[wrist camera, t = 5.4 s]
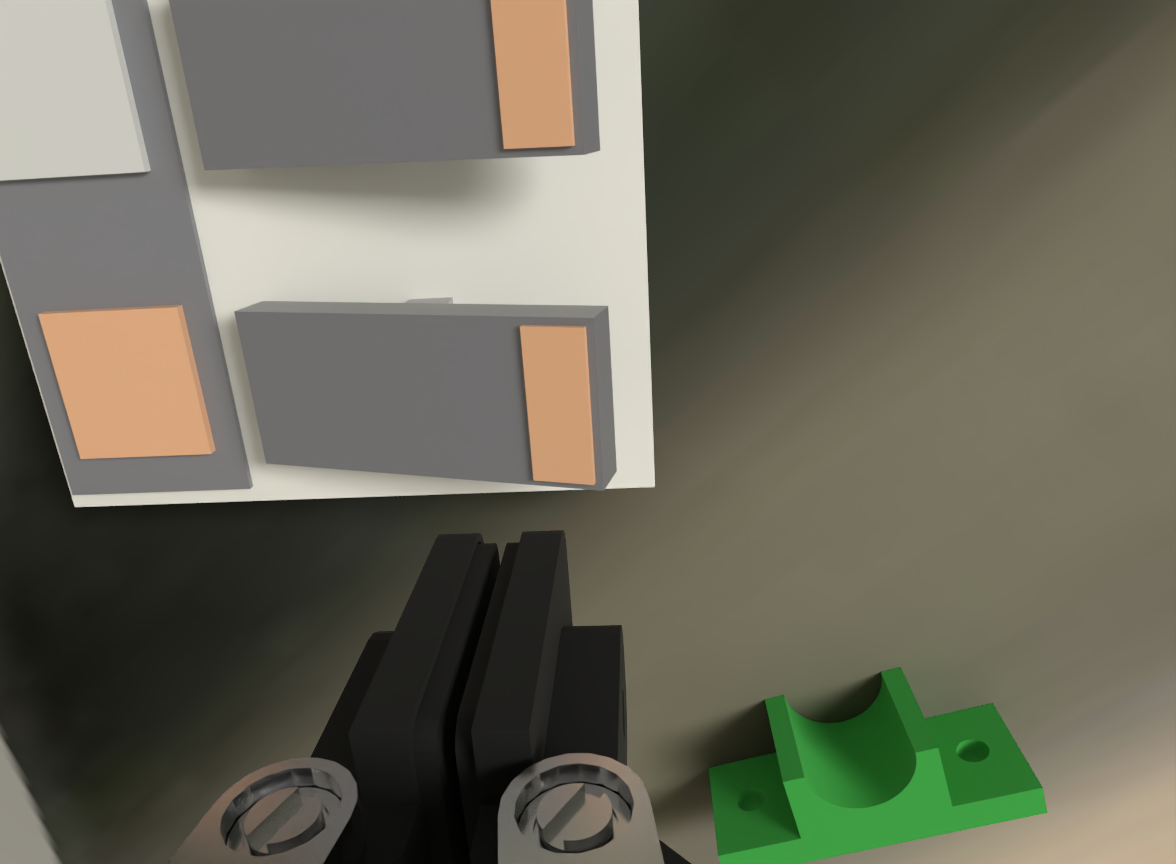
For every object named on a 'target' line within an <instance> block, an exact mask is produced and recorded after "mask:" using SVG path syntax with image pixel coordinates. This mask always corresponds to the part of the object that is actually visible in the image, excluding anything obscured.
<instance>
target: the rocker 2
mask: <svg viewBox="0 0 1176 864" xmlns="http://www.w3.org/2000/svg"><path fill="white" fill-rule="evenodd" d="M234 313H235V318H236V323H237V327H238V332H239V337H240V342H241V346H242V351H243V356H244V361H245V365H246V370H247V375H248V380H249V384H250V389H251V394H252V399H253V404H254V408H255V413H256V418H257V423H258V427H259V432H260V437H261V442H262V446H263V451H264V456H265V461H266V464H278V465H290V466H303V467H315V468H328V469H340V470H352V471H365V472H377V473H390V474H402V475H415V476H427V477H439V478H452V479H464V480H477V481H489V482H501V483H514V484H526V485H539V486H551V487H563V488H576V489H588V490H601V491H604V490H605V488H606V487H607V485H608V484H609V482H610V481H611V479H612V478H613V476H614V475H615V473H616V472H617V466H616V446H615V427H614V408H613V388H612V369H611V349H610V330H609V310H608V306H587V305H514V304H441V303H369V302H296V301H261V302H259V303H256V304H253V305H250V306H248V307H245V308H242V309H239V310H237V311H234Z"/></svg>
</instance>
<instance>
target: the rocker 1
mask: <svg viewBox="0 0 1176 864" xmlns="http://www.w3.org/2000/svg"><path fill="white" fill-rule="evenodd" d="M169 4H170V9H171V13H172V18H173V23H174V28H175V32H176V37H177V42H178V47H179V51H180V56H181V61H182V66H183V71H184V75H185V80H186V85H187V90H188V94H189V99H190V104H191V109H192V113H193V118H194V123H195V128H196V132H197V137H198V142H199V147H200V151H201V156H202V161H203V166H204V170H228V169H252V168H276V167H301V166H325V165H349V164H374V163H398V162H423V161H447V160H471V159H496V158H520V157H544V156H569V155H586V154H589V153H593V152H597V151H600V136H599V116H598V97H597V77H596V58H595V38H594V19H593V0H169Z"/></svg>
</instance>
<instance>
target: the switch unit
mask: <svg viewBox="0 0 1176 864" xmlns="http://www.w3.org/2000/svg"><path fill="white" fill-rule="evenodd" d="M593 19H594V38H595V58H596V77H597V97H598V116H599V136H600V151H597V152H593V153H589V154H586V155H569V156H544V157H520V158H496V159H471V160H447V161H423V162H398V163H374V164H349V165H325V166H301V167H276V168H252V169H228V170H204V166H203V161H202V156H201V151H200V147H199V142H198V137H197V132H196V128H195V123H194V118H193V113H192V109H191V104H190V99H189V94H188V90H187V85H186V80H185V75H184V71H183V66H182V61H181V56H180V51H179V47H178V42H177V37H176V32H175V28H174V23H173V18H172V13H171V9H170V4H169V0H0V262H1V265H2V269H3V272H4V275H5V279H6V282H7V285H8V288H9V292H10V295H11V298H12V302H13V305H14V308H15V312H16V315H17V318H18V321H19V325H20V328H21V331H22V335H23V338H24V341H25V345H26V348H27V351H28V354H29V358H30V361H31V364H32V368H33V371H34V374H35V378H36V381H37V384H38V387H39V391H40V394H41V397H42V401H43V404H44V407H45V411H46V414H47V417H48V420H49V424H50V427H51V430H52V434H53V437H54V440H55V444H56V447H57V450H58V453H59V457H60V460H61V463H62V467H63V470H64V473H65V477H66V480H67V483H68V487H69V490H70V493H71V496H72V500H73V503H74V506H75V507H94V506H122V505H151V504H180V503H208V502H237V501H266V500H294V499H323V498H352V497H380V496H409V495H437V494H466V493H495V492H523V491H552V490H581V489H576V488H563V487H551V486H539V485H526V484H514V483H501V482H489V481H477V480H464V479H452V478H439V477H427V476H415V475H402V474H390V473H377V472H365V471H352V470H340V469H328V468H315V467H303V466H290V465H278V464H266V461H265V456H264V451H263V446H262V442H261V437H260V432H259V427H258V423H257V418H256V413H255V408H254V404H253V399H252V394H251V389H250V384H249V380H248V375H247V370H246V365H245V361H244V356H243V351H242V346H241V342H240V337H239V332H238V327H237V323H236V318H235V313H234V311H237V310H239V309H242V308H245V307H248V306H250V305H253V304H256V303H259V302H261V301H296V302H369V303H441V304H514V305H587V306H608V310H609V330H610V349H611V369H612V388H613V408H614V427H615V446H616V466H617V472H616V473H615V475H614V476H613V478H612V479H611V481H610V482H609V484H608V485H607V487H606V488H605V489H609V488H638V487H655V475H654V446H653V416H652V387H651V358H650V329H649V300H648V271H647V242H646V213H645V184H644V155H643V125H642V96H641V67H640V38H639V9H638V0H593Z"/></svg>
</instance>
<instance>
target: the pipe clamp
mask: <svg viewBox="0 0 1176 864" xmlns="http://www.w3.org/2000/svg"><path fill="white" fill-rule="evenodd" d="M881 676H882V683H881V689H880V692H879V694H878V696H877V698H876V700H875V701H874V702H873V704H872V705H871V706H870V707H869V708H868V709H867V710H866V711H864V712H863V713H861V714H860V715H858V716H856V717H854V718H852V719H849V720H846V721H842V722H836V723H821V722H815V721H812V720H809V719H806V718H804V717H802V716H800V715H799V714H798V713H796V712H795V711H794V710H793V709H792V708H791V707H790V706H789V704H788V703H787V701H786V699H785V697H784V695H781V696H777V697H773V698H769V699H765V703H766V707H767V712H768V716H769V721H770V725H771V730H772V735H773V739H774V744H775V748H776V753H771V754H767V755H763V756H758V757H754V758H750V759H745V760H741V761H736V762H732V763H728V764H723V765H719V766H715V767H710V768H708V769H709V778H710V787H711V796H712V805H713V813H714V822H715V831H716V840H717V849H718V856H719V859H720V862H721V864H800V863H805V862H810V861H815V860H820V859H825V858H829V857H834V856H839V855H844V854H849V853H854V852H859V851H863V850H868V849H873V848H878V847H883V846H888V845H893V844H897V843H902V842H907V841H912V840H917V839H922V838H927V837H931V836H936V835H941V834H946V833H951V832H956V831H961V830H965V829H970V828H975V827H980V826H985V825H990V824H995V823H999V822H1004V821H1009V820H1014V819H1019V818H1024V817H1029V816H1033V815H1038V814H1043V813H1047V808H1046V803H1045V797H1044V792H1043V788H1042V786H1041V784H1040V782H1039V781H1038V779H1037V777H1036V776H1035V774H1034V772H1033V771H1032V769H1031V767H1030V766H1029V764H1028V762H1027V760H1026V759H1025V757H1024V755H1023V754H1022V752H1021V750H1020V749H1019V747H1018V745H1017V744H1016V742H1015V740H1014V738H1013V737H1012V735H1011V733H1010V732H1009V730H1008V728H1007V727H1006V725H1005V723H1004V722H1003V720H1002V718H1001V716H1000V715H999V713H998V711H997V710H996V708H995V706H994V705H993V703H990V704H986V705H981V706H977V707H973V708H968V709H964V710H960V711H955V712H951V713H946V714H942V715H938V716H933V717H929V718H924V716H923V714H922V712H921V710H920V708H919V706H918V704H917V701H916V699H915V697H914V695H913V693H912V691H911V689H910V686H909V684H908V682H907V680H906V678H905V676H904V674H903V671H902V669H901V667H899V668H894V669H890V670H886V671H882V672H881Z"/></svg>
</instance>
